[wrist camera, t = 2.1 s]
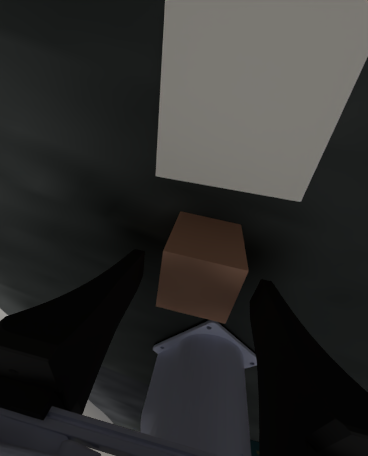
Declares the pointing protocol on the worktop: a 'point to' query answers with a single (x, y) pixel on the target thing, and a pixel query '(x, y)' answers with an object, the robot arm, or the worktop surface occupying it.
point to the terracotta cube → (202, 267)
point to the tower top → (255, 89)
